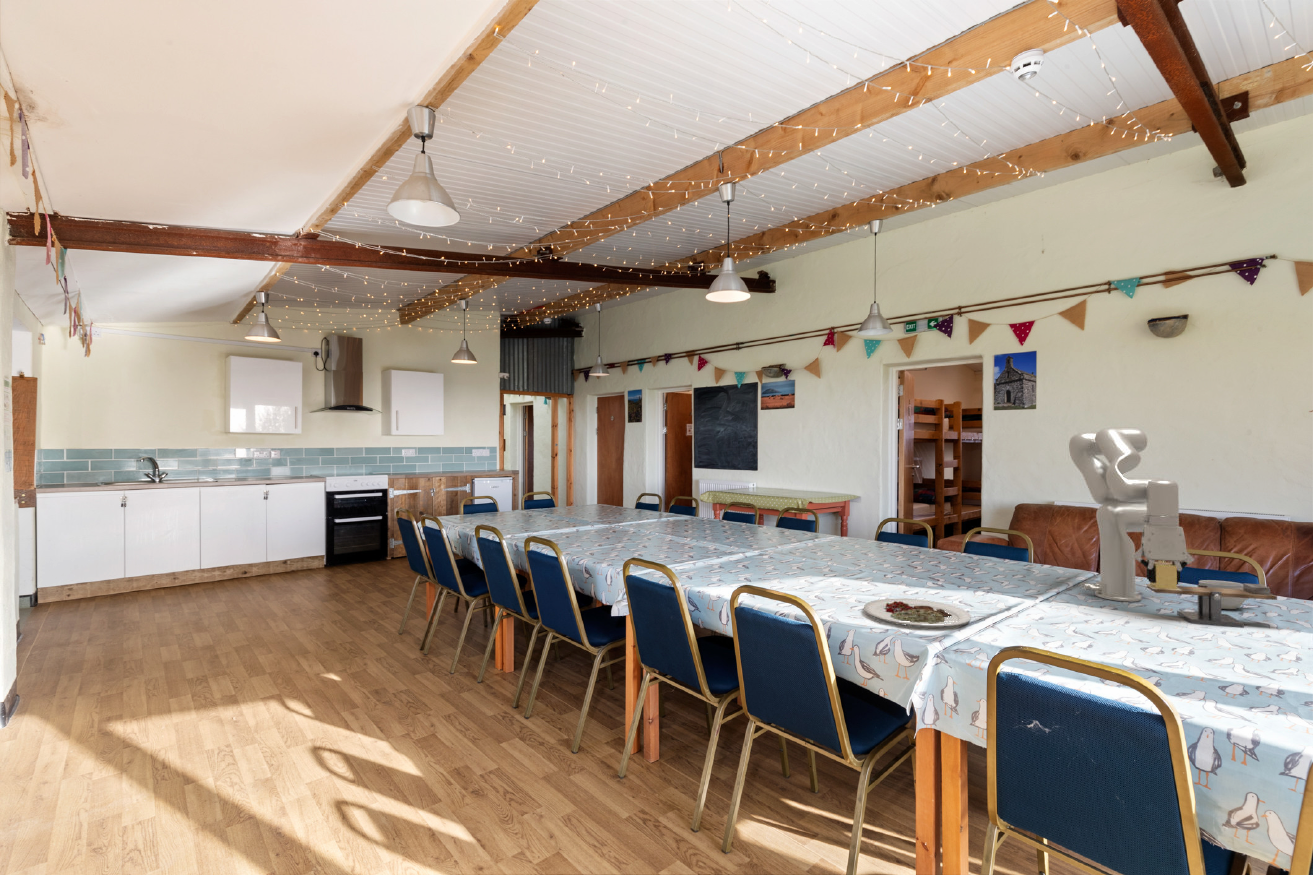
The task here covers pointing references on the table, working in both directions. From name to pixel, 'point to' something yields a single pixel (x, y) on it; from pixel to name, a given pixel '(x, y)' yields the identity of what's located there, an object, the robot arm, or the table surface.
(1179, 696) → the table surface
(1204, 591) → the beam
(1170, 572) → the block
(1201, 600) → the beam stand
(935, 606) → the plated food
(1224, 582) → the teacup
